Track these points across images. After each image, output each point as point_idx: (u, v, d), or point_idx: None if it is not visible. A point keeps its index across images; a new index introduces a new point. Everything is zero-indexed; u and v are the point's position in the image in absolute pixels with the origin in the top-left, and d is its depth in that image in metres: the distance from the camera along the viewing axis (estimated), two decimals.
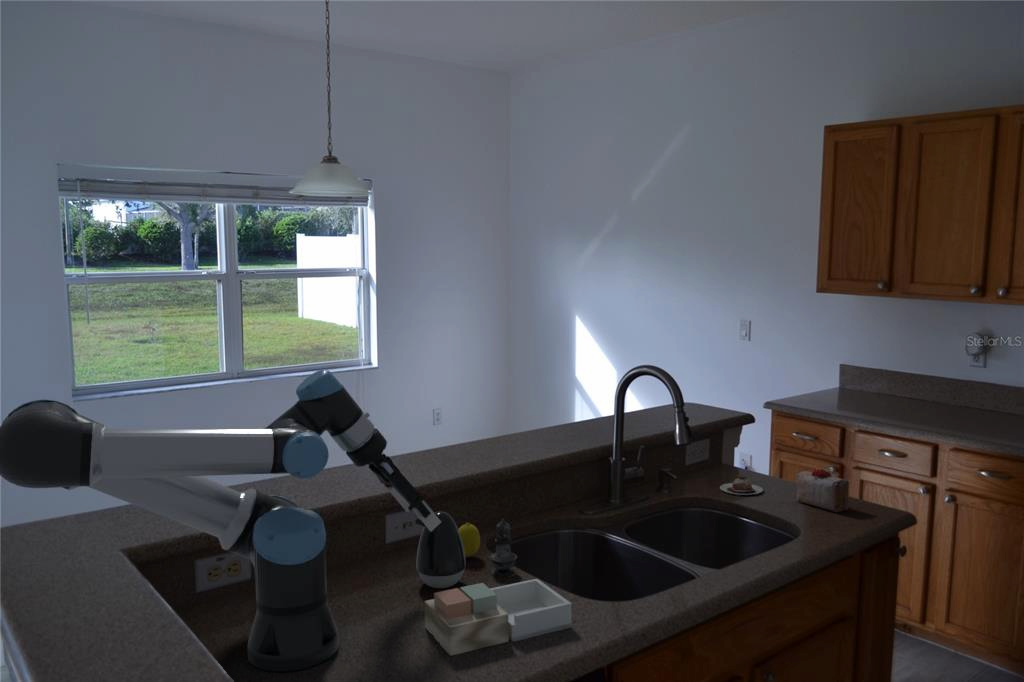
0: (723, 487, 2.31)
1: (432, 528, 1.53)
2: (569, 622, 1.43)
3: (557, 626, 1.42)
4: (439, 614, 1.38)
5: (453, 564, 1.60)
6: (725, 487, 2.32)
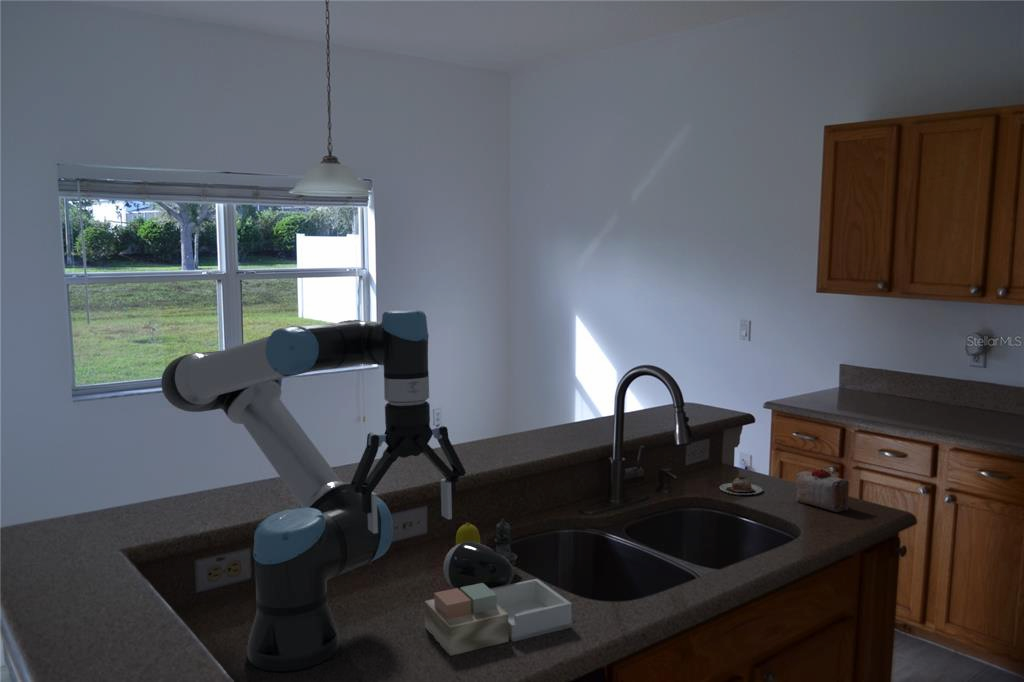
0: (723, 487, 2.31)
1: (369, 528, 1.33)
2: (569, 622, 1.43)
3: (557, 626, 1.42)
4: (439, 614, 1.38)
5: None
6: (725, 487, 2.32)
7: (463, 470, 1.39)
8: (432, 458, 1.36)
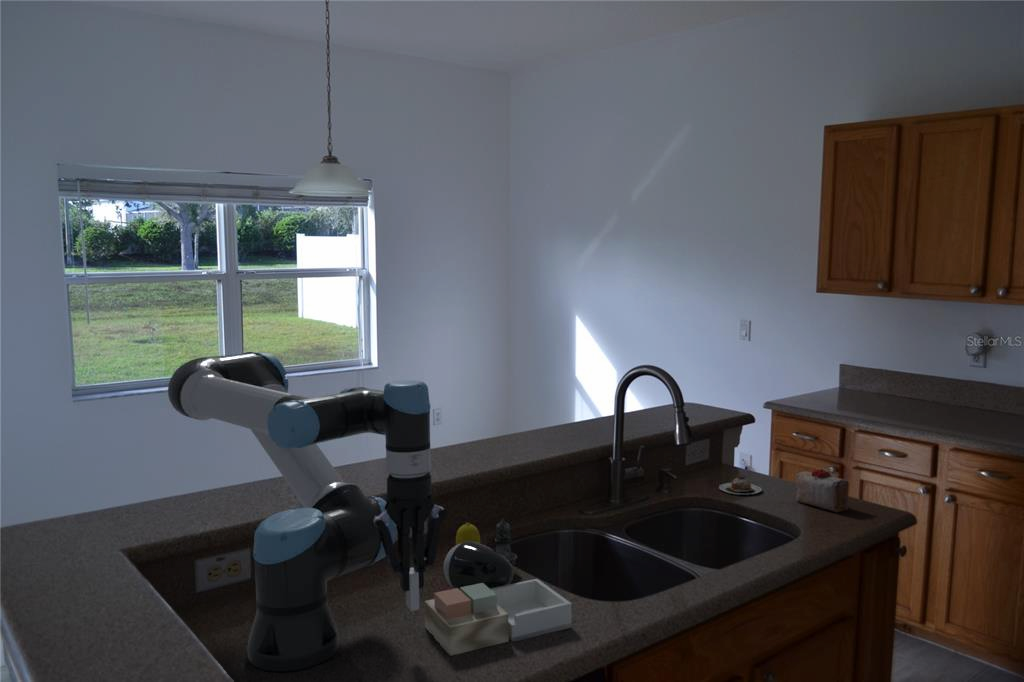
0: (722, 487, 2.31)
1: (407, 604, 1.36)
2: (569, 622, 1.43)
3: (557, 626, 1.42)
4: (439, 614, 1.38)
5: None
6: (724, 487, 2.32)
7: (433, 560, 1.36)
8: (418, 536, 1.34)
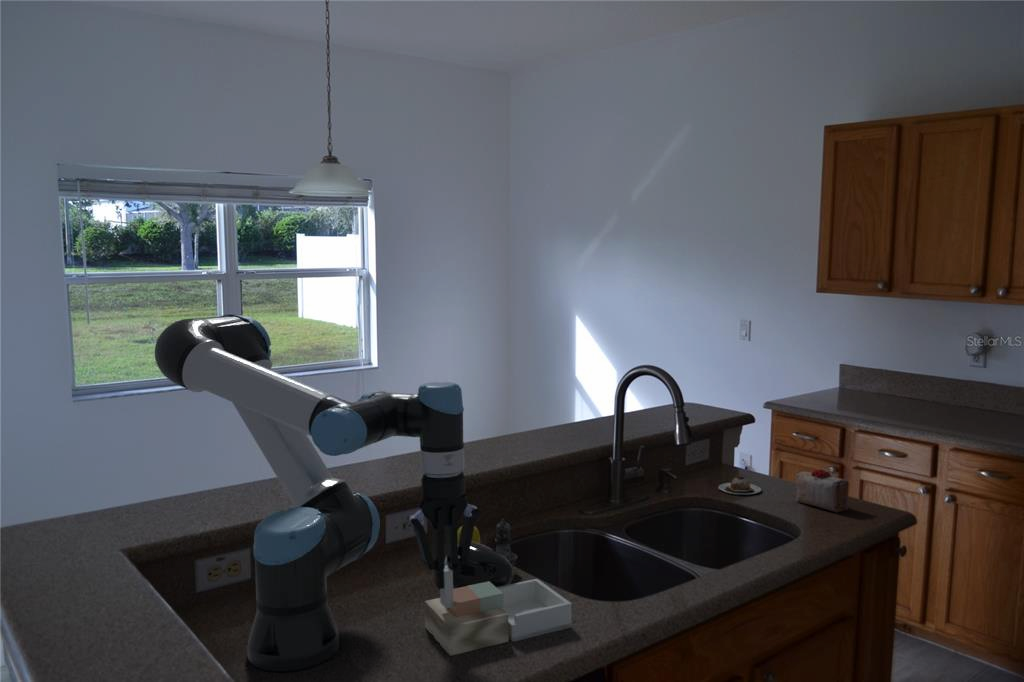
0: (721, 487, 2.32)
1: (441, 601, 1.39)
2: (569, 622, 1.43)
3: (557, 626, 1.42)
4: (439, 614, 1.38)
5: None
6: (723, 487, 2.32)
7: (466, 558, 1.38)
8: (452, 534, 1.37)
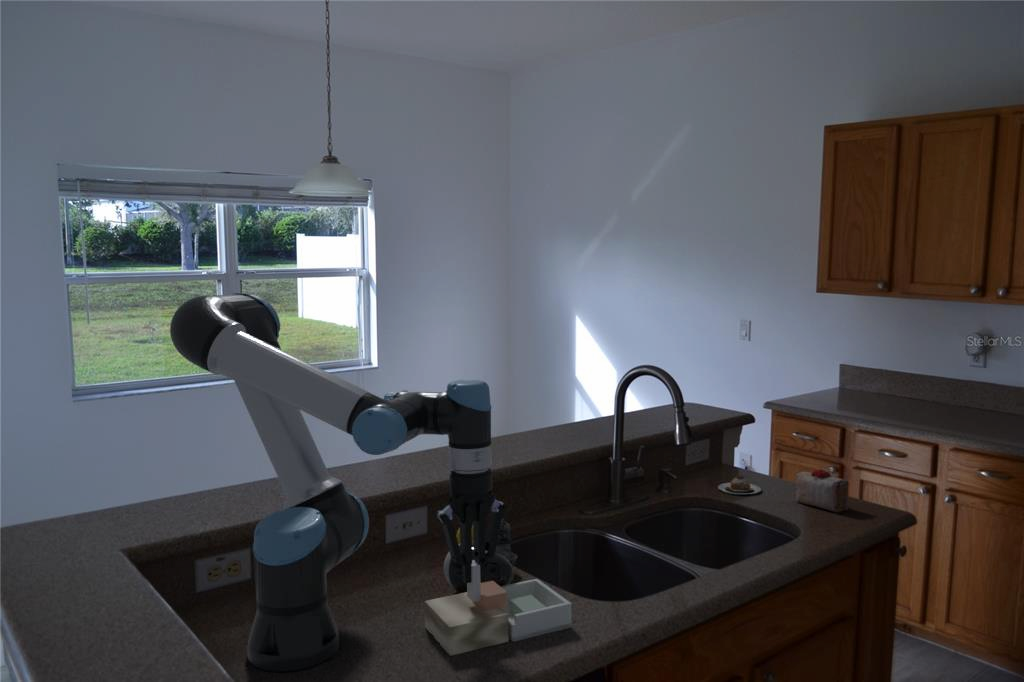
0: (721, 487, 2.32)
1: (468, 595, 1.41)
2: (569, 622, 1.43)
3: (557, 626, 1.42)
4: (439, 614, 1.38)
5: None
6: (723, 487, 2.32)
7: (493, 553, 1.41)
8: (479, 530, 1.39)
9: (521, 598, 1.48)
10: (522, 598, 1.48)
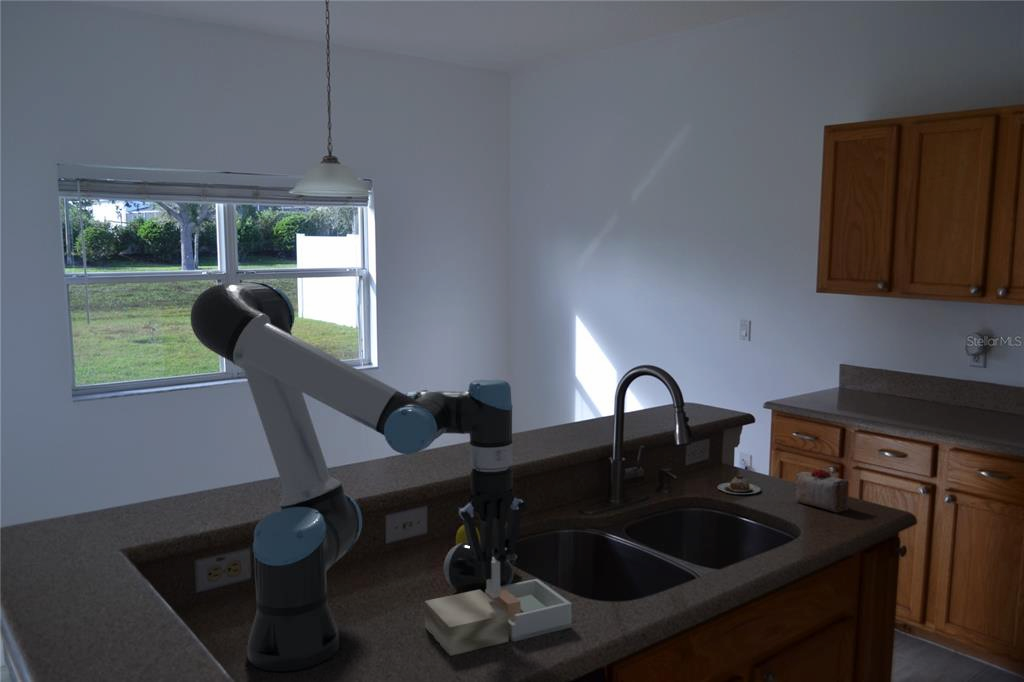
0: (721, 486, 2.32)
1: (488, 592, 1.43)
2: (569, 622, 1.43)
3: (557, 626, 1.42)
4: (439, 614, 1.38)
5: None
6: (723, 486, 2.32)
7: (513, 550, 1.43)
8: (499, 527, 1.41)
9: (521, 598, 1.48)
10: (522, 598, 1.48)
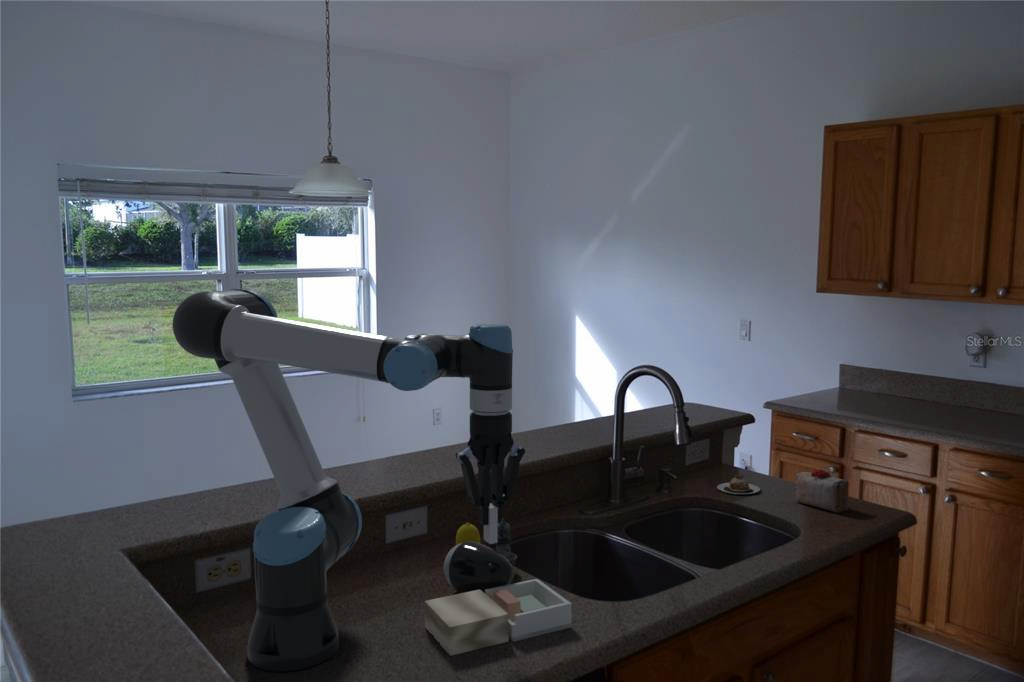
0: (720, 486, 2.32)
1: (485, 538, 1.42)
2: (569, 622, 1.43)
3: (557, 626, 1.42)
4: (439, 614, 1.38)
5: None
6: (722, 486, 2.32)
7: (510, 496, 1.42)
8: (498, 472, 1.40)
9: (521, 598, 1.48)
10: (522, 598, 1.48)
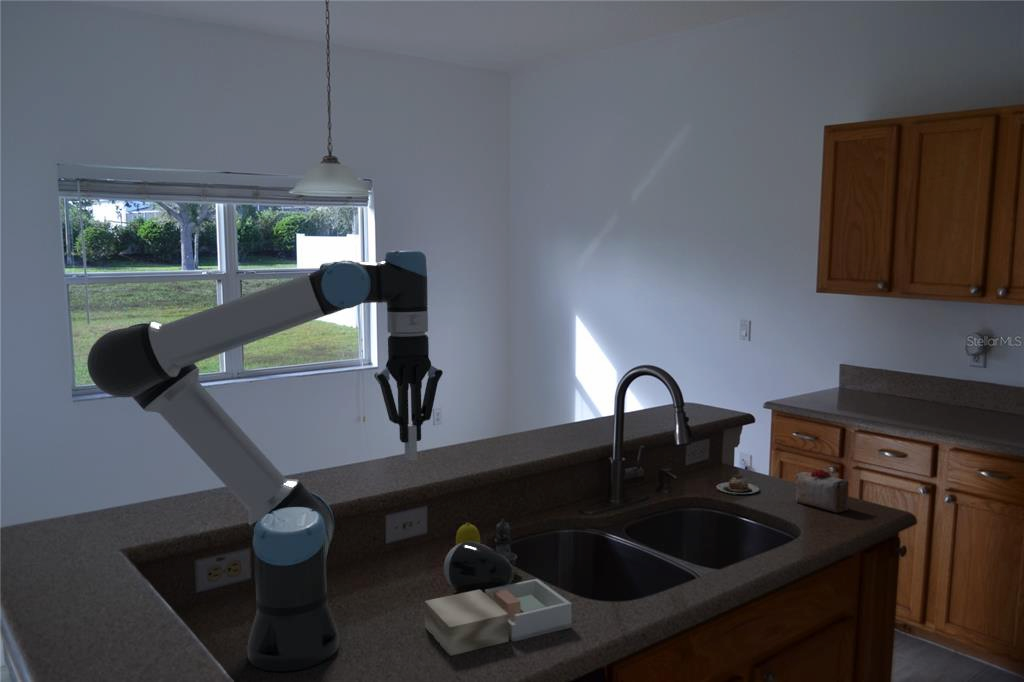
0: (719, 486, 2.32)
1: (406, 456, 1.50)
2: (569, 622, 1.43)
3: (557, 626, 1.42)
4: (439, 614, 1.38)
5: None
6: (721, 486, 2.32)
7: (429, 416, 1.49)
8: (416, 392, 1.48)
9: (521, 598, 1.48)
10: (522, 598, 1.48)
